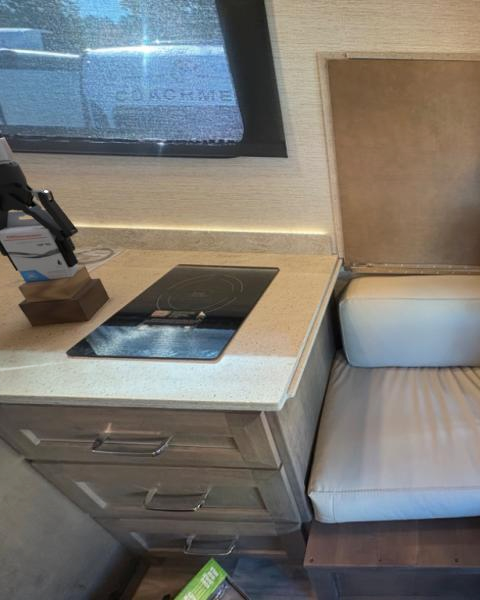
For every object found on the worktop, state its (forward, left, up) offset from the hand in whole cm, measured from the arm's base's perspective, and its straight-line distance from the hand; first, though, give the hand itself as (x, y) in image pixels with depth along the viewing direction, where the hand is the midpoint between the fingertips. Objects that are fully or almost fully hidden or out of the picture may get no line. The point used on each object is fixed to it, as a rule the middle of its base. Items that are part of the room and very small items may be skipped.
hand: (48, 266), depth 76 cm
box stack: (0, 0, -12) cm, 12 cm away
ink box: (0, 0, -3) cm, 3 cm away
